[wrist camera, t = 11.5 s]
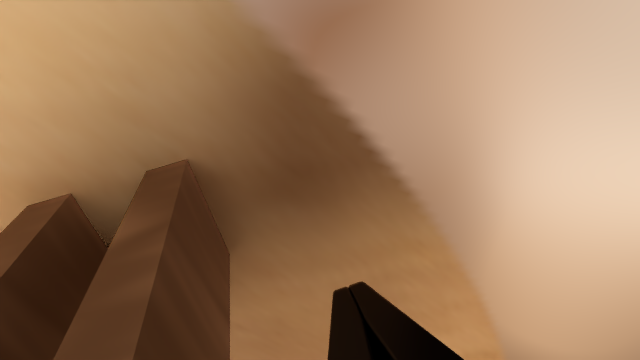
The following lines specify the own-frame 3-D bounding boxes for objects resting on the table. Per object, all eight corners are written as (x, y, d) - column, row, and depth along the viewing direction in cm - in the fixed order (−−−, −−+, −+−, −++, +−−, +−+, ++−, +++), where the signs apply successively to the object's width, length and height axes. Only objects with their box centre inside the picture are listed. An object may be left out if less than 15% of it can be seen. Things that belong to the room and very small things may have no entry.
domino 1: (70, 193, 13) (-148, 455, 6) (132, 285, 16) (38, 560, 8) (27, 206, 13) (-260, 494, 5) (95, 297, 16) (-36, 590, 8)
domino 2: (187, 159, 14) (132, 359, 6) (229, 254, 16) (230, 485, 8) (146, 171, 14) (36, 392, 6) (195, 265, 16) (163, 511, 8)
